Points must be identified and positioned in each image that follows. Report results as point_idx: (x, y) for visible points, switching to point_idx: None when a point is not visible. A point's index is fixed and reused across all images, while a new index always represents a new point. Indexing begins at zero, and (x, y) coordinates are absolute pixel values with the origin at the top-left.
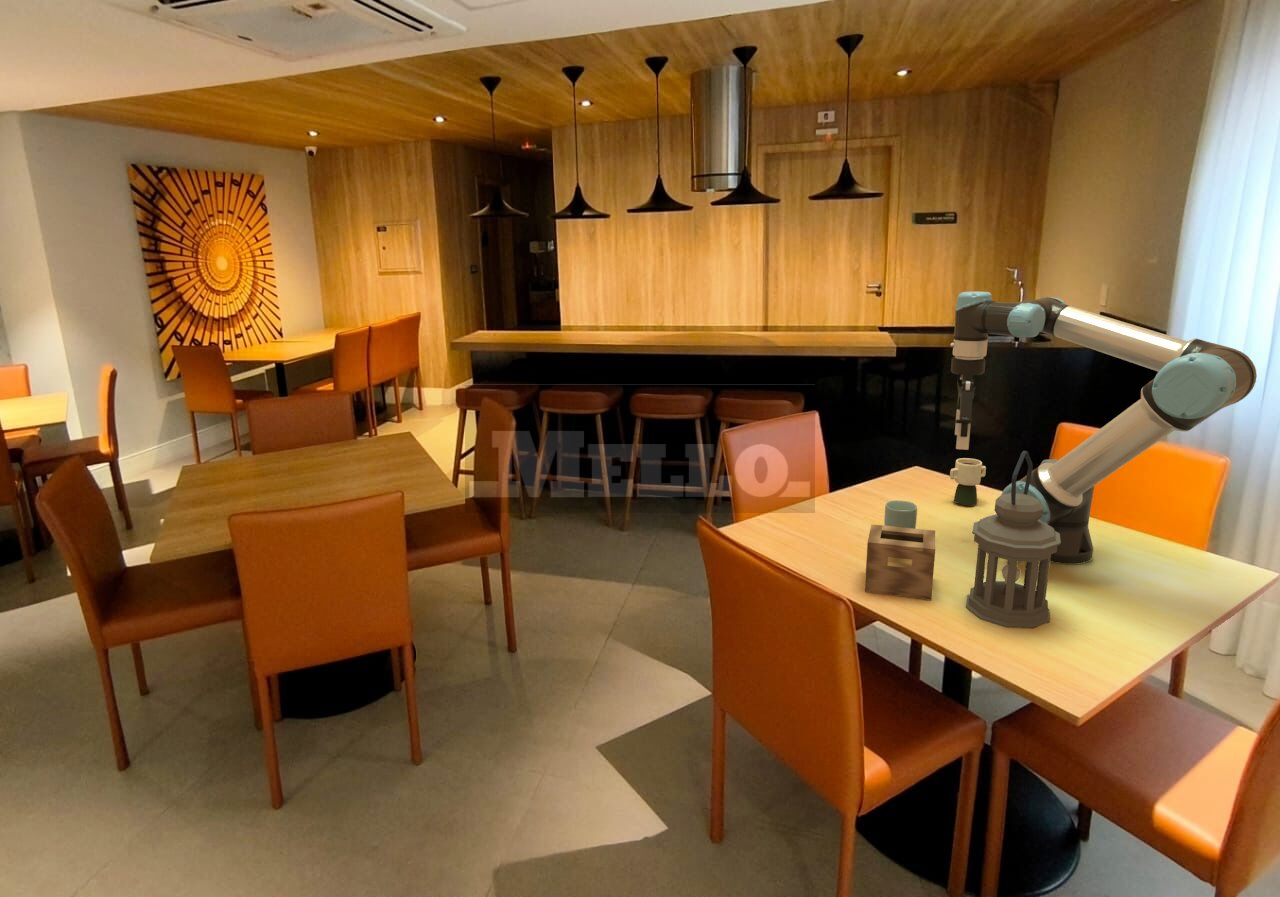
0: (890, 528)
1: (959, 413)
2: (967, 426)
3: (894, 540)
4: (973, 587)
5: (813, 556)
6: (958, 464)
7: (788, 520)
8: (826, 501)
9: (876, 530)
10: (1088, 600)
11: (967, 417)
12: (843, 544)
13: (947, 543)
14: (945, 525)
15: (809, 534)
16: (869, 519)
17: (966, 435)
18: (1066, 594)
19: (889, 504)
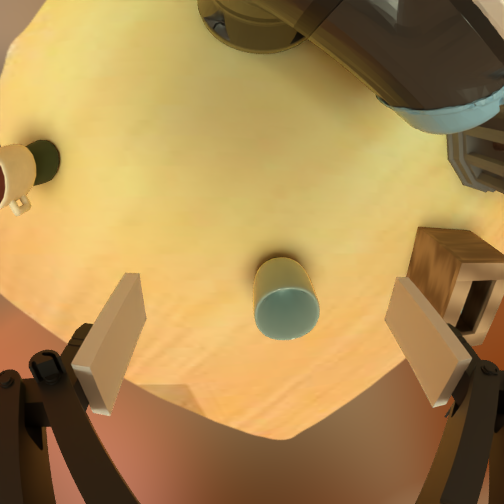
0: None
1: (111, 389)
2: (479, 359)
3: (484, 316)
4: (471, 181)
5: (353, 368)
6: (5, 204)
7: (230, 405)
8: (131, 372)
9: None
10: None
11: (465, 398)
12: (307, 345)
13: (268, 191)
14: (169, 193)
15: (277, 382)
16: (185, 319)
17: (454, 330)
18: None
19: (271, 332)
